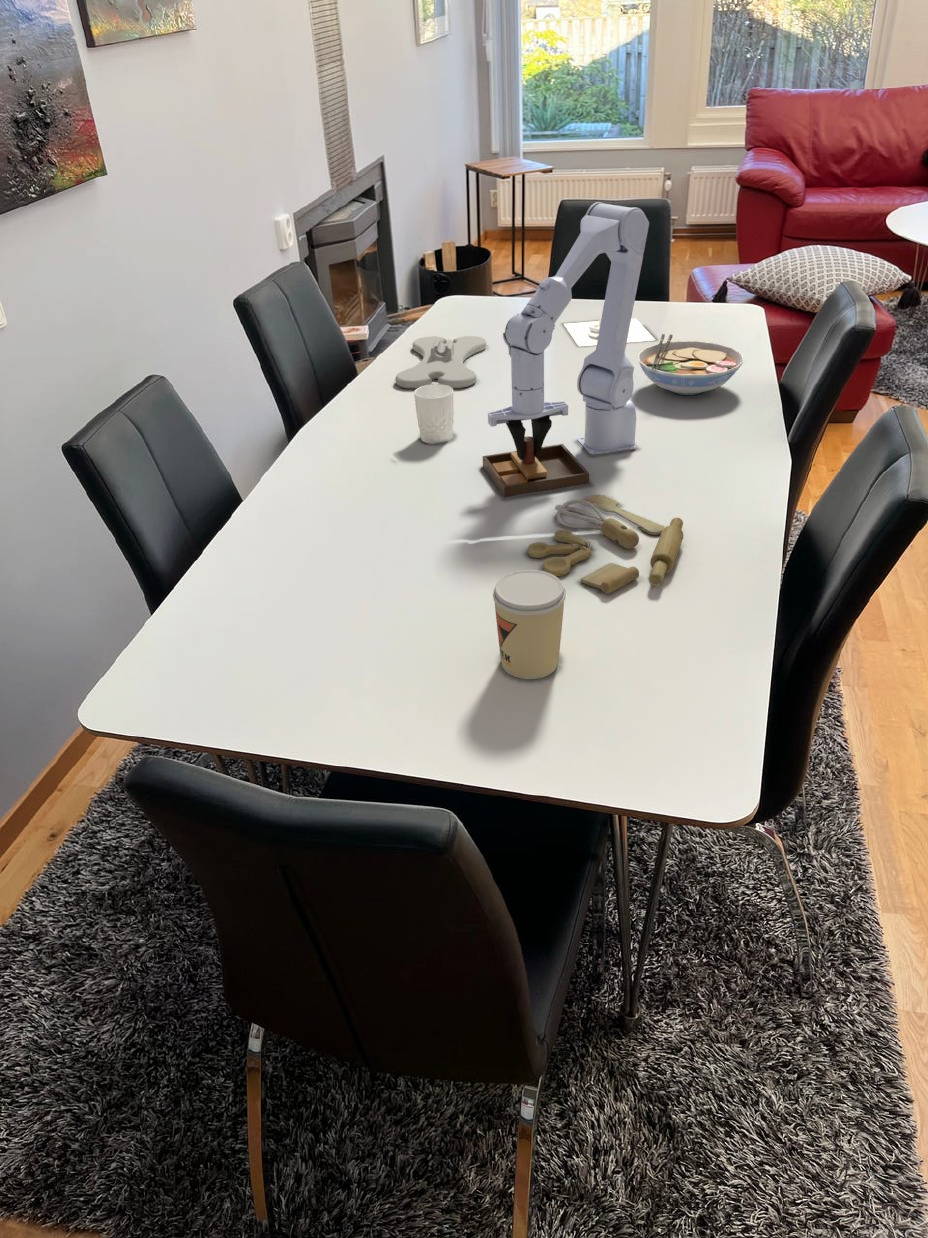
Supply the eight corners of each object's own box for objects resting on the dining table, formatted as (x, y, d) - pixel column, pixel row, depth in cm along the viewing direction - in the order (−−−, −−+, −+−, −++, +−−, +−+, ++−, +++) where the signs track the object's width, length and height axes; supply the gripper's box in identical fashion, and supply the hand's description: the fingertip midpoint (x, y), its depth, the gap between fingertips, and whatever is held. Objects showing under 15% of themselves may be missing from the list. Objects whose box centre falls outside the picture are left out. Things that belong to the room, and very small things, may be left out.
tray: (562, 455, 179) (562, 443, 178) (589, 485, 168) (589, 473, 166) (482, 468, 176) (482, 455, 175) (504, 499, 165) (504, 487, 163)
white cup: (451, 446, 185) (448, 398, 180) (413, 444, 187) (409, 397, 181) (459, 431, 192) (456, 384, 186) (422, 429, 193) (419, 383, 188)
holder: (487, 342, 240) (487, 323, 237) (474, 388, 212) (473, 367, 209) (415, 343, 242) (414, 324, 239) (393, 389, 214) (391, 368, 211)
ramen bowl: (734, 414, 192) (739, 375, 188) (625, 405, 199) (627, 368, 194) (744, 373, 211) (749, 338, 207) (645, 367, 218) (647, 333, 214)
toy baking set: (528, 497, 165) (528, 479, 163) (672, 496, 163) (674, 477, 161) (526, 596, 138) (526, 576, 136) (699, 596, 136) (701, 575, 134)
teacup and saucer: (585, 330, 244) (585, 315, 241) (614, 328, 244) (615, 312, 242) (592, 340, 236) (592, 324, 234) (622, 338, 237) (623, 322, 235)
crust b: (521, 478, 170) (521, 472, 170) (527, 487, 167) (527, 481, 166) (500, 482, 170) (500, 476, 169) (506, 491, 166) (506, 485, 166)
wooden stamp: (529, 459, 176) (529, 426, 172) (547, 482, 167) (547, 448, 163) (510, 462, 175) (510, 429, 171) (527, 485, 167) (527, 451, 163)
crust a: (512, 466, 175) (511, 460, 174) (518, 474, 172) (518, 468, 171) (491, 469, 174) (491, 463, 174) (497, 477, 171) (497, 472, 170)
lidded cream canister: (491, 645, 128) (488, 571, 121) (558, 639, 128) (559, 565, 122) (499, 686, 120) (496, 610, 114) (570, 680, 121) (571, 603, 114)
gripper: (559, 372, 166) (558, 442, 174) (482, 383, 164) (484, 453, 171) (572, 384, 161) (571, 456, 168) (493, 396, 158) (495, 469, 165)
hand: (528, 456), depth 169 cm, fingers closed on wooden stamp, 2 cm apart
